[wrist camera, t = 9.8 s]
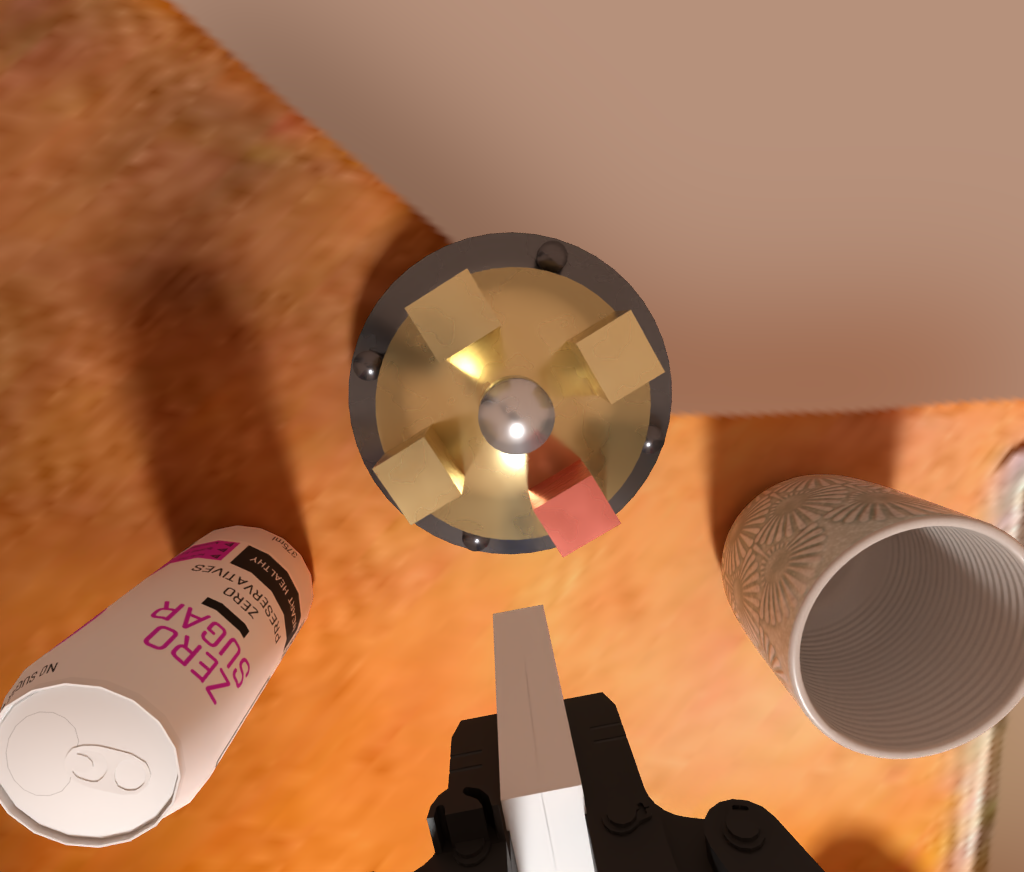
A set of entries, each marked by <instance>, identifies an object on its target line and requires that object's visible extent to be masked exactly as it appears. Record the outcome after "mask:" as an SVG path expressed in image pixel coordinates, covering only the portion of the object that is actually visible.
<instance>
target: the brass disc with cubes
mask: <svg viewBox="0 0 1024 872" xmlns="http://www.w3.org/2000/svg"><path fill="white" fill-rule="evenodd" d="M405 310H406V311H407V313H408V315H409V316H408V317H407V318H406V319H405V321H404V322H403V323H402V324H401V326H400V327H399V328H398V330H397V332H396V334H395V335H394V337H393V339H392V340H391V342H390V344H389V346H388V349H387V351H386V354H385V356H384V358H383V361H382V365H381V368H380V372H379V376H378V381H377V389H376V420H377V427H378V433H379V437H380V440H381V444H382V448H383V450H384V454H383V456H382V457H381V458H380V460H379V461H378V462H377V463H376V465H375V466H374V467H373V468H372V469H373V471H374V472H375V474H376V475H377V477H378V478H379V480H380V481H381V483H382V484H383V485H384V487H385V488H386V490H387V491H388V493H389V494H390V496H391V497H392V498H393V500H394V501H395V503H396V504H397V506H398V507H399V509H400V510H401V511H402V513H403V514H404V516H405V517H406V519H407V520H408V522H409V523H410V524H411V525H412V524H414V523H416V522H417V521H419V520H421V519H422V518H424V517H426V516H427V515H429V514H432V515H434V516H435V517H437V518H438V519H440V520H442V521H444V522H445V523H447V524H449V525H450V526H453V527H455V528H457V529H460V530H462V531H465V532H467V533H471V534H474V535H478V536H482V537H487V538H493V539H500V540H522V539H531V538H538V537H542V536H546V535H549V536H550V538H551V539H552V541H553V542H554V544H555V546H556V547H557V549H558V550H559V552H560V553H561V555H562V557H564V556H566V555H568V554H570V553H571V552H573V551H575V550H576V549H578V548H580V547H582V546H583V545H585V544H587V543H588V542H590V541H592V540H593V539H595V538H597V537H599V536H600V535H602V534H604V533H605V532H607V531H609V530H611V529H612V528H614V527H616V526H617V525H619V524H621V523H620V521H619V519H618V518H617V516H616V514H615V513H614V511H613V509H612V508H611V506H610V504H609V503H608V501H609V500H610V499H611V498H612V497H613V496H614V495H615V494H616V492H617V491H618V490H619V489H620V488H621V487H622V485H623V484H624V483H625V481H626V480H627V478H628V477H629V475H630V474H631V472H632V470H633V468H634V466H635V464H636V463H637V461H638V459H639V457H640V454H641V451H642V448H643V446H644V443H645V440H646V435H647V431H648V426H649V419H650V408H651V400H650V385H649V381H651V380H653V379H654V378H656V377H658V376H659V375H661V374H662V373H664V372H665V371H664V369H663V367H662V365H661V364H660V362H659V360H658V358H657V356H656V355H655V353H654V351H653V349H652V347H651V345H650V344H649V342H648V340H647V338H646V336H645V335H644V333H643V331H642V329H641V327H640V325H639V324H638V322H637V320H636V318H635V316H634V315H633V313H632V311H631V310H622V311H614V310H613V308H612V307H611V306H609V305H608V304H607V303H606V302H605V301H604V300H603V299H602V298H600V297H599V296H598V295H597V294H595V293H594V292H592V291H591V290H589V289H588V288H586V287H585V286H583V285H581V284H579V283H577V282H575V281H573V280H571V279H569V278H567V277H564V276H561V275H558V274H555V273H552V272H549V271H545V270H539V269H534V268H524V267H504V268H493V269H488V270H484V271H479V272H475V273H472V274H470V272H469V270H468V269H465V270H464V271H462V272H460V273H459V274H457V275H456V276H454V277H453V278H451V279H449V280H448V281H446V282H445V283H443V284H442V285H440V286H438V287H437V288H435V289H434V290H432V291H431V292H429V293H427V294H426V295H424V296H423V297H421V298H420V299H418V300H416V301H415V302H413V303H412V304H410V305H409V306H407V307H405ZM509 375H520V376H525V377H528V378H530V379H532V380H534V381H535V382H537V383H538V384H539V385H540V386H541V387H542V388H543V389H544V391H545V392H546V393H547V394H548V396H549V397H550V399H551V401H552V403H553V406H554V411H555V422H554V427H553V430H552V432H551V434H550V436H549V438H548V439H547V440H546V442H545V443H544V444H543V445H541V446H540V447H539V448H537V449H536V450H534V451H532V452H529V453H526V454H522V455H511V454H506V453H503V452H501V451H499V450H497V449H495V448H494V447H492V446H491V445H490V444H489V443H488V442H487V441H486V439H485V438H484V436H483V434H482V433H481V430H480V427H479V422H478V413H479V404H480V400H481V397H482V395H483V393H484V392H485V390H486V389H487V388H488V387H489V385H491V384H492V383H493V382H494V381H496V380H498V379H500V378H502V377H505V376H509Z"/></svg>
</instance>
